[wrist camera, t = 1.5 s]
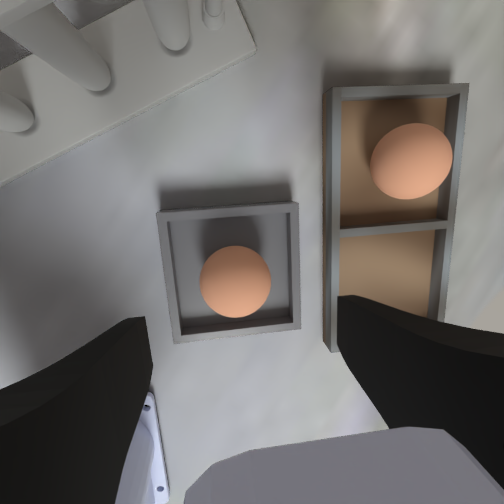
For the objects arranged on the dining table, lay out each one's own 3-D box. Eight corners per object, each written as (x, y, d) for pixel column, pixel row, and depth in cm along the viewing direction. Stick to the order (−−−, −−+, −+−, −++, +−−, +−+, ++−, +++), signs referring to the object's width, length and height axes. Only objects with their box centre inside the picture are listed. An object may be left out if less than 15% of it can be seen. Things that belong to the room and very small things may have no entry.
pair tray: (427, 328, 23) (442, 338, 21) (323, 341, 22) (330, 352, 20) (449, 90, 19) (469, 83, 17) (322, 94, 18) (332, 87, 16)
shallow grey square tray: (294, 318, 21) (301, 328, 20) (176, 332, 20) (173, 344, 19) (291, 201, 19) (298, 203, 18) (160, 210, 18) (155, 213, 17)
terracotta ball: (266, 297, 20) (279, 326, 16) (204, 303, 19) (201, 335, 15) (263, 236, 19) (276, 252, 15) (197, 242, 18) (193, 259, 14)
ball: (416, 194, 19) (467, 199, 16) (356, 199, 19) (393, 204, 15) (421, 127, 18) (476, 114, 15) (358, 130, 18) (398, 117, 14)
